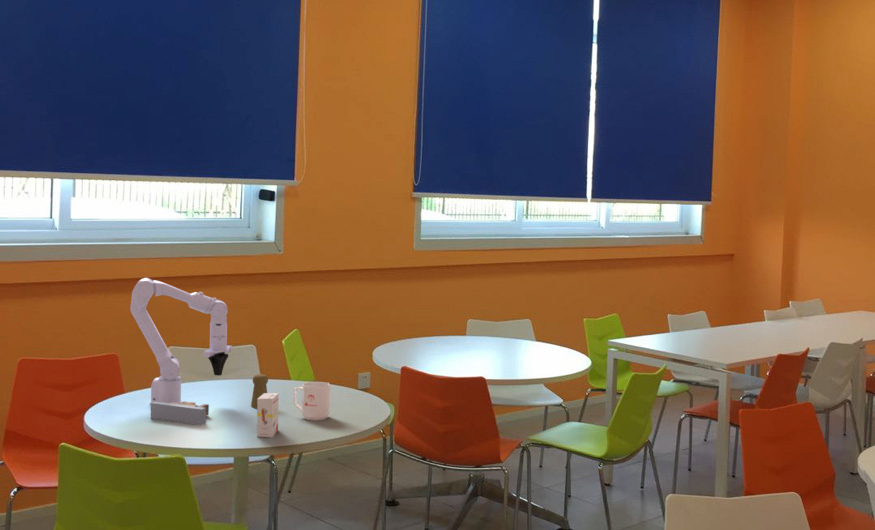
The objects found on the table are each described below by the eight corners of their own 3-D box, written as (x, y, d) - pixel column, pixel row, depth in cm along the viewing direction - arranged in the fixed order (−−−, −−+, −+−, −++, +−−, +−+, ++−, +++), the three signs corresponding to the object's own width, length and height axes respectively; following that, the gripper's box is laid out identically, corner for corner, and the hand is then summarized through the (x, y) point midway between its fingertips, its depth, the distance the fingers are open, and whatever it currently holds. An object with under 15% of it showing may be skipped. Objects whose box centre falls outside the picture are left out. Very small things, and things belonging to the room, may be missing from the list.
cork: (264, 408, 305) (265, 376, 304) (248, 407, 306) (248, 375, 305) (271, 405, 311) (272, 373, 310) (255, 403, 312) (255, 372, 311)
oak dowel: (179, 417, 289) (180, 404, 289) (187, 415, 293) (187, 401, 293) (190, 419, 288) (190, 405, 287) (197, 416, 291) (198, 402, 291)
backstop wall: (150, 418, 287) (150, 402, 287) (155, 416, 289) (155, 401, 289) (201, 425, 281) (201, 409, 280) (205, 423, 283) (205, 407, 282)
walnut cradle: (168, 417, 288) (168, 403, 288) (184, 411, 296) (184, 398, 295) (193, 420, 285) (194, 406, 285) (208, 415, 292) (208, 401, 292)
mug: (332, 415, 298) (333, 382, 297) (324, 422, 289) (325, 388, 288) (298, 413, 300) (298, 380, 299) (289, 419, 291) (289, 385, 291)
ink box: (262, 429, 277) (263, 392, 276) (278, 430, 277) (279, 392, 276) (256, 437, 269) (256, 398, 268) (272, 437, 269) (273, 398, 268)
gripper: (216, 339, 301) (215, 379, 302) (240, 334, 314) (239, 372, 315) (198, 337, 303) (197, 377, 304) (222, 332, 317) (222, 370, 318)
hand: (217, 375), depth 310 cm, fingers closed
